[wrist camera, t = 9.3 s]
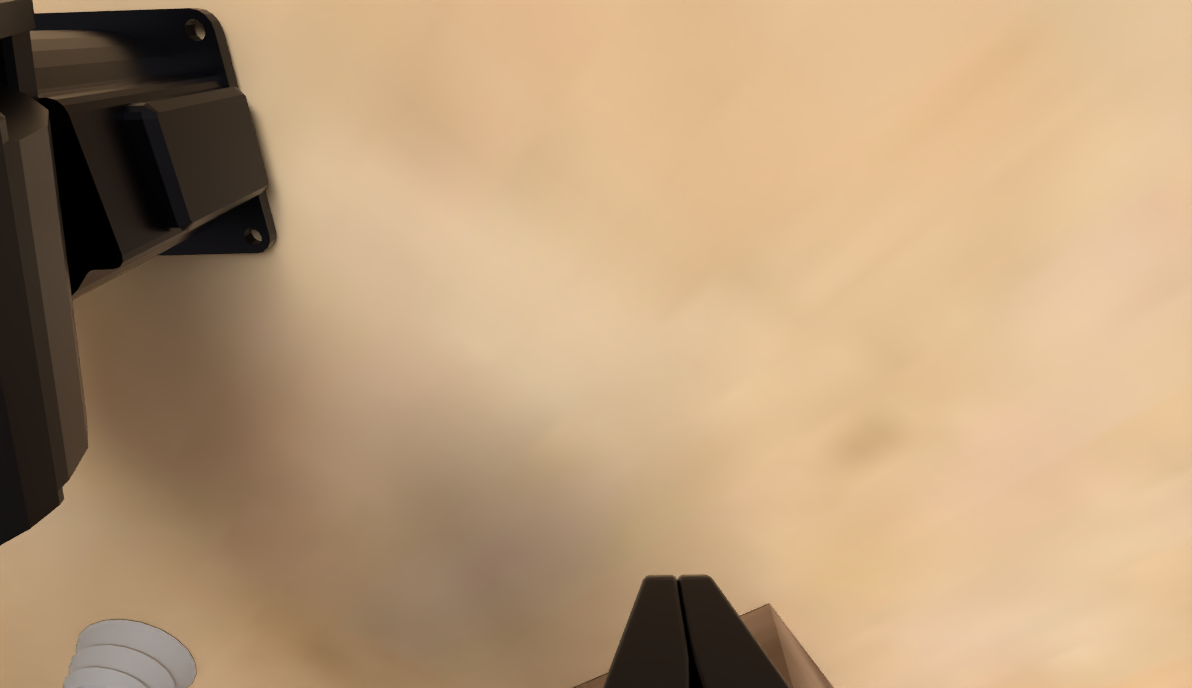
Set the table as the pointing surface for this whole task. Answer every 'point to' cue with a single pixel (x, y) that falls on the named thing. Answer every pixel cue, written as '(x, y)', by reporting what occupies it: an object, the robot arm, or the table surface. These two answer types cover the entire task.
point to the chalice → (129, 658)
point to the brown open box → (772, 651)
